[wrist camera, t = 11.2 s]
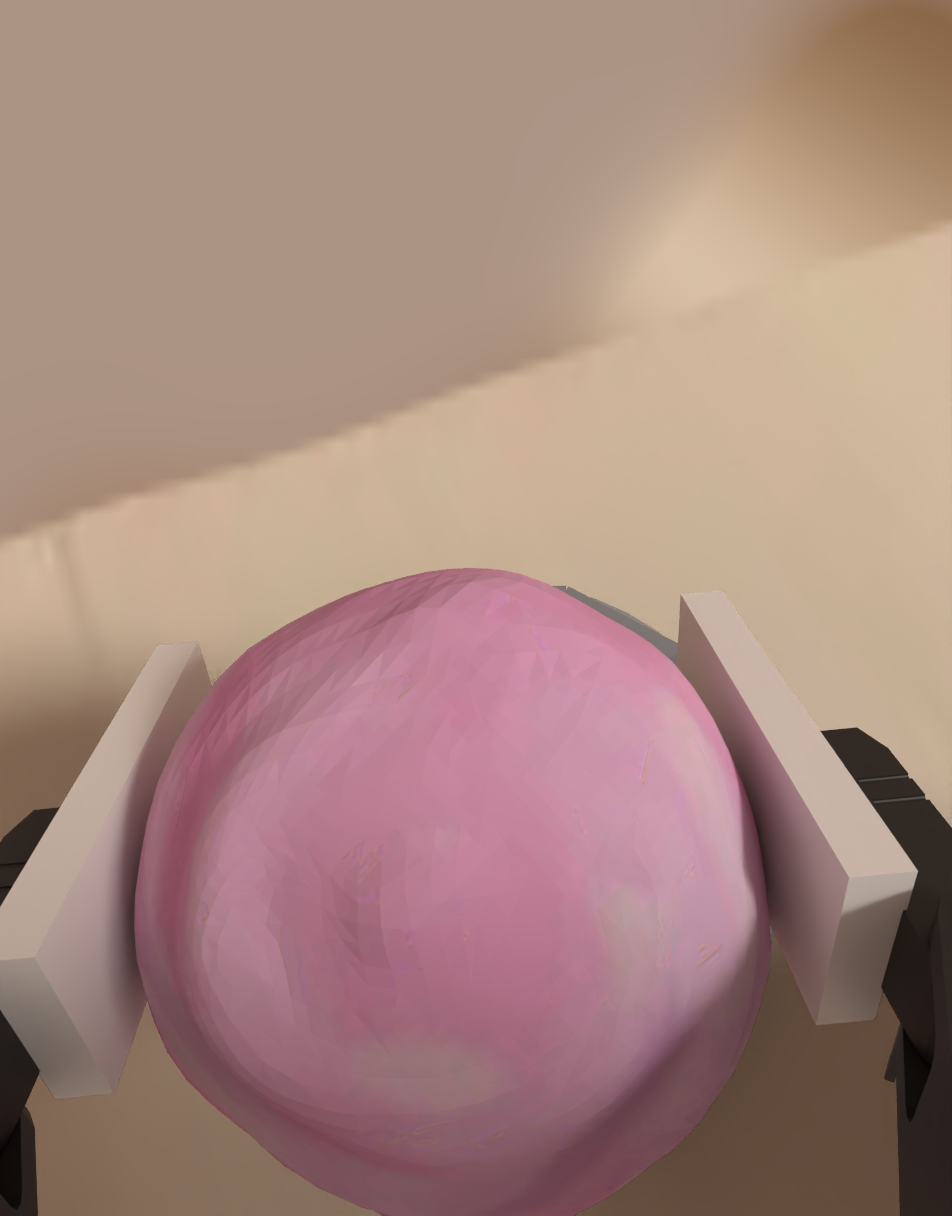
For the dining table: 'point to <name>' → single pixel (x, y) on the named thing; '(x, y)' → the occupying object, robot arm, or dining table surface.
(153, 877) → the cupcake
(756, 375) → the dining table surface
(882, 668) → the dining table surface
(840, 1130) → the dining table surface
